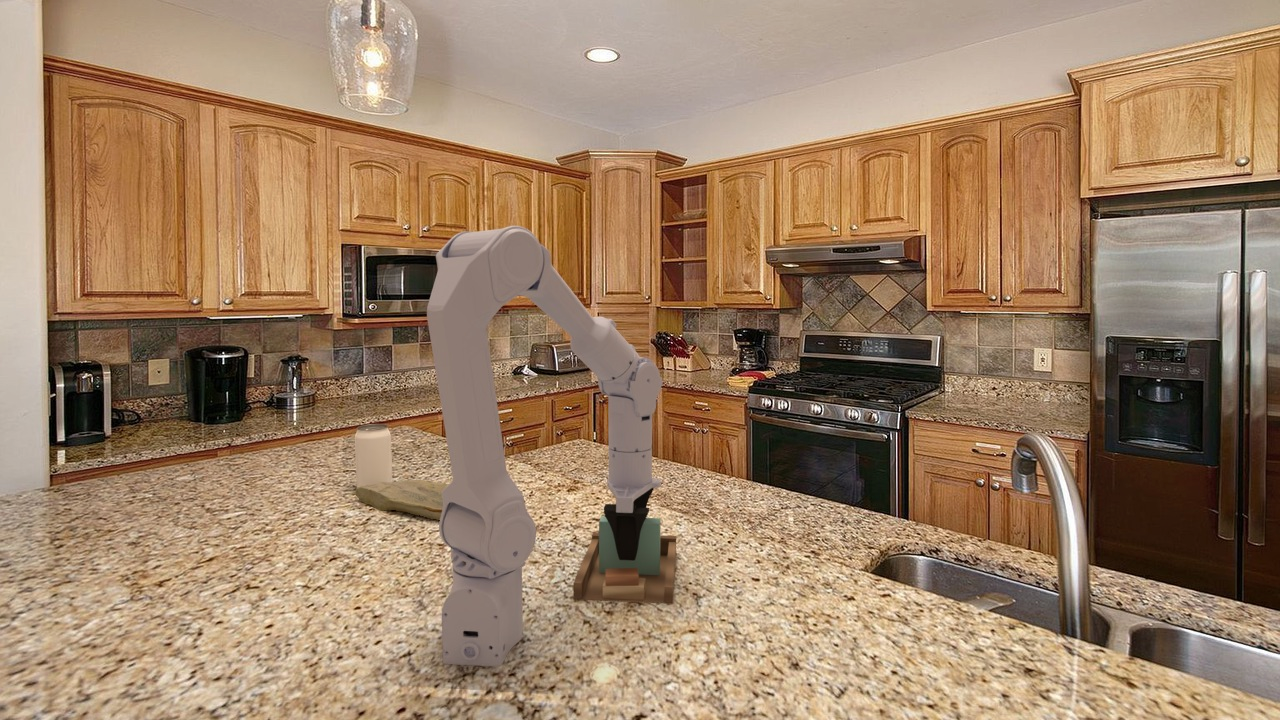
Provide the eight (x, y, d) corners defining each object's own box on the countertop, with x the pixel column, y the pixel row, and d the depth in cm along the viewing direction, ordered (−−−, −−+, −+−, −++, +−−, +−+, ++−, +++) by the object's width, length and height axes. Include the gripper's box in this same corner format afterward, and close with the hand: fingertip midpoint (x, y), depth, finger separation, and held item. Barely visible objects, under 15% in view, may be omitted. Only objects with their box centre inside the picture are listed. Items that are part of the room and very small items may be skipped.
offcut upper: (638, 585, 77) (638, 576, 76) (605, 586, 76) (605, 576, 76) (637, 577, 79) (637, 568, 79) (605, 578, 79) (605, 568, 78)
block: (659, 575, 83) (659, 523, 82) (599, 572, 84) (599, 521, 83) (660, 568, 85) (660, 518, 84) (601, 566, 86) (601, 516, 85)
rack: (672, 609, 76) (672, 583, 75) (573, 605, 77) (573, 579, 76) (676, 558, 90) (676, 536, 90) (593, 555, 91) (593, 532, 91)
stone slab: (401, 472, 124) (523, 488, 110) (402, 492, 125) (524, 512, 111) (346, 488, 113) (473, 508, 99) (347, 510, 114) (475, 534, 100)
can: (356, 484, 125) (354, 425, 124) (391, 480, 127) (389, 422, 126) (356, 494, 119) (354, 431, 118) (393, 489, 122) (391, 428, 120)
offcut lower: (643, 600, 76) (643, 587, 76) (602, 598, 77) (602, 585, 76) (645, 590, 79) (645, 578, 79) (605, 588, 79) (605, 576, 79)
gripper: (657, 462, 75) (657, 572, 77) (663, 435, 90) (662, 528, 91) (598, 461, 76) (599, 569, 77) (614, 434, 90) (614, 526, 92)
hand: (630, 547), depth 84 cm, fingers open, 7 cm apart
